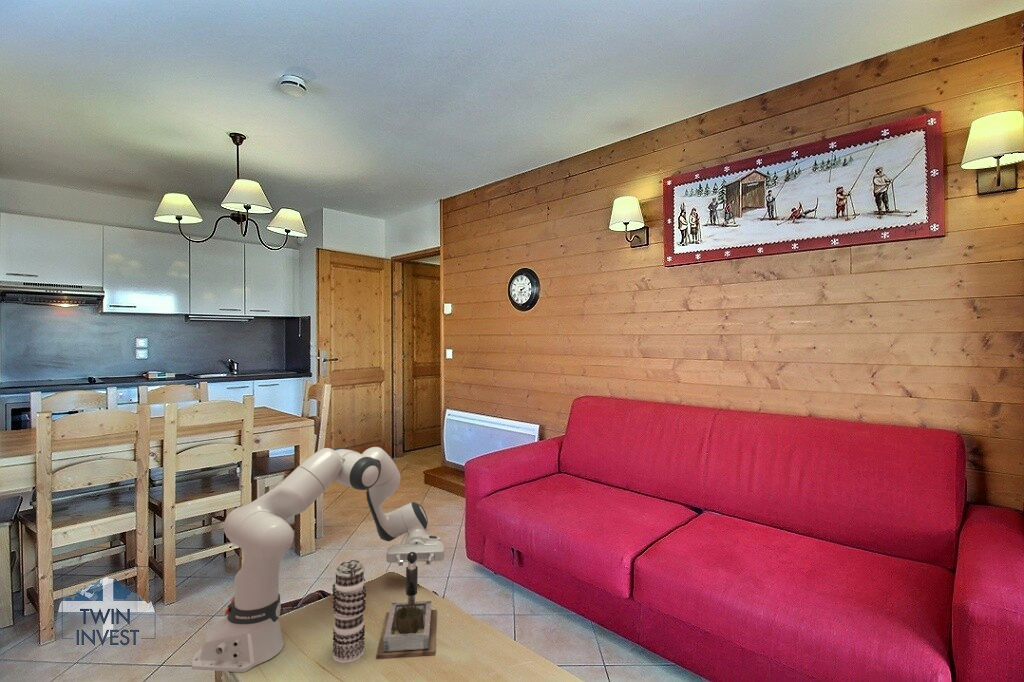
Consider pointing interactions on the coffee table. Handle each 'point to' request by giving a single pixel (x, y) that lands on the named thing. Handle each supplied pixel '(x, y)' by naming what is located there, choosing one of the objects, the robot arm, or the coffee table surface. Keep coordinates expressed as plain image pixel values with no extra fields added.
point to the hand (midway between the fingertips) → (414, 563)
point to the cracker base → (410, 653)
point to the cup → (408, 619)
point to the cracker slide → (410, 639)
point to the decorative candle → (349, 612)
